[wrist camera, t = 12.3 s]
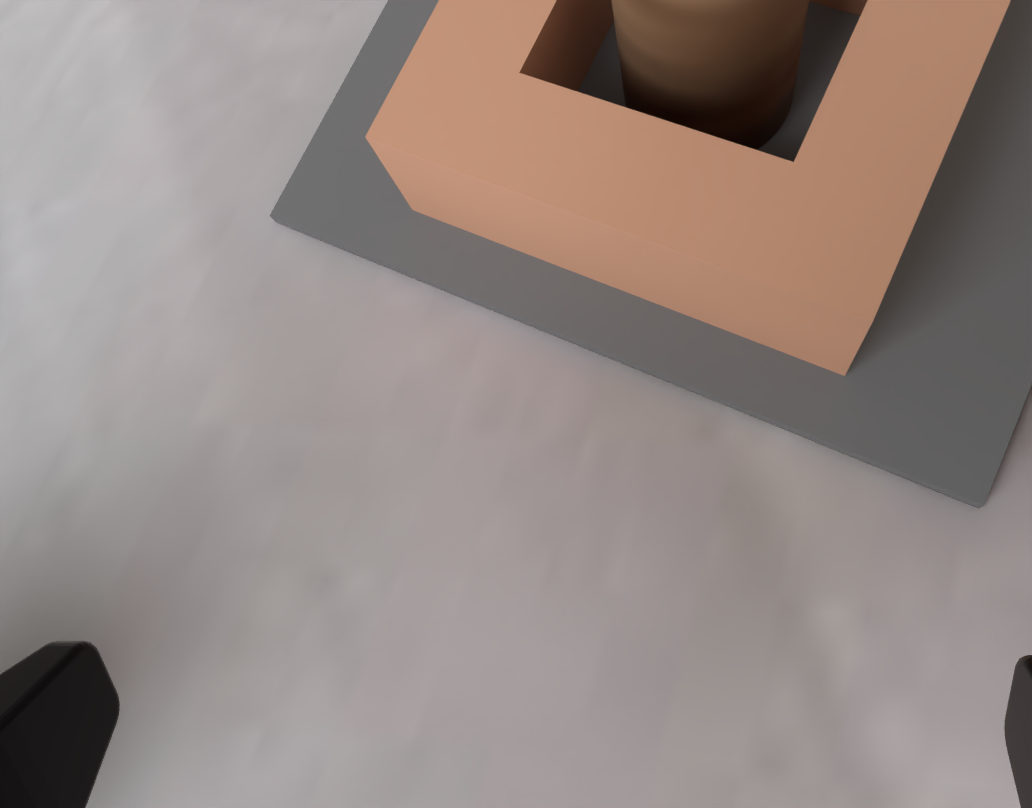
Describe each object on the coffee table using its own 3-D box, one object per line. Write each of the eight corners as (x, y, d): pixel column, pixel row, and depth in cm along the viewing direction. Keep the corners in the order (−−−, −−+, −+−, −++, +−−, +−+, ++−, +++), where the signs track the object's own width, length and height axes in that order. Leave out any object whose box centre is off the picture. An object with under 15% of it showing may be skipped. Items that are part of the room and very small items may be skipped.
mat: (1196, -41, 22) (1205, -54, 21) (978, 508, 20) (983, 505, 19) (509, -203, 27) (507, -216, 26) (276, 222, 25) (269, 215, 24)
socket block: (1022, -39, 22) (1080, -161, 19) (844, 375, 21) (872, 322, 17) (598, -144, 25) (582, -266, 22) (412, 210, 24) (365, 137, 20)
